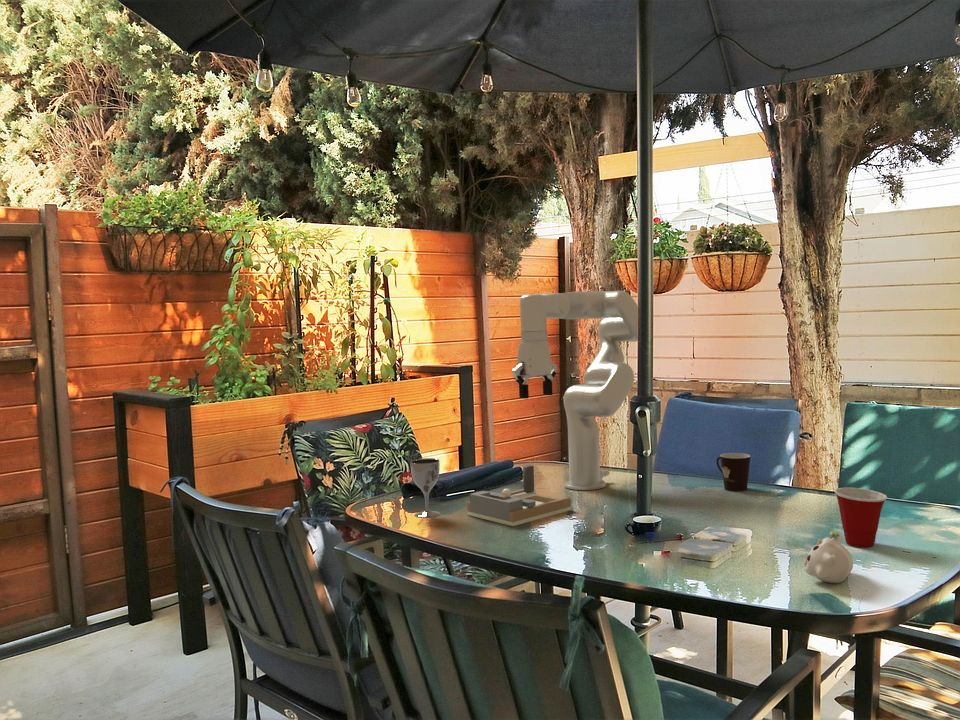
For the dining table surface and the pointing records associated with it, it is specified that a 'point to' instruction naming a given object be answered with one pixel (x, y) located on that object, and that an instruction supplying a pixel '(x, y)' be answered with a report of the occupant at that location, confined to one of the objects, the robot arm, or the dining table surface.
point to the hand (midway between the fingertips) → (536, 396)
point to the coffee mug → (734, 471)
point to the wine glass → (425, 480)
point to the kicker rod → (528, 488)
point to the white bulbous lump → (829, 560)
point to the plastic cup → (860, 514)
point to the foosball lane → (515, 508)
